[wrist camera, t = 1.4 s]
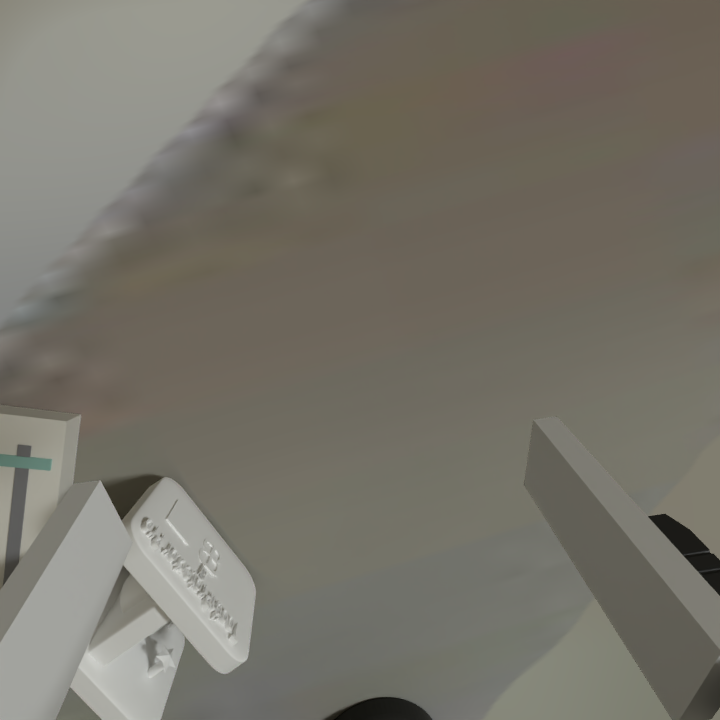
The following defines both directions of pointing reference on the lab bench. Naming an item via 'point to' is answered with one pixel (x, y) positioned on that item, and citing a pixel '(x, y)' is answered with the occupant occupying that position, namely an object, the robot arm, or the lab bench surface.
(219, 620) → the cable organizer
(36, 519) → the mixing board
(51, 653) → the robot arm
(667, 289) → the lab bench surface
